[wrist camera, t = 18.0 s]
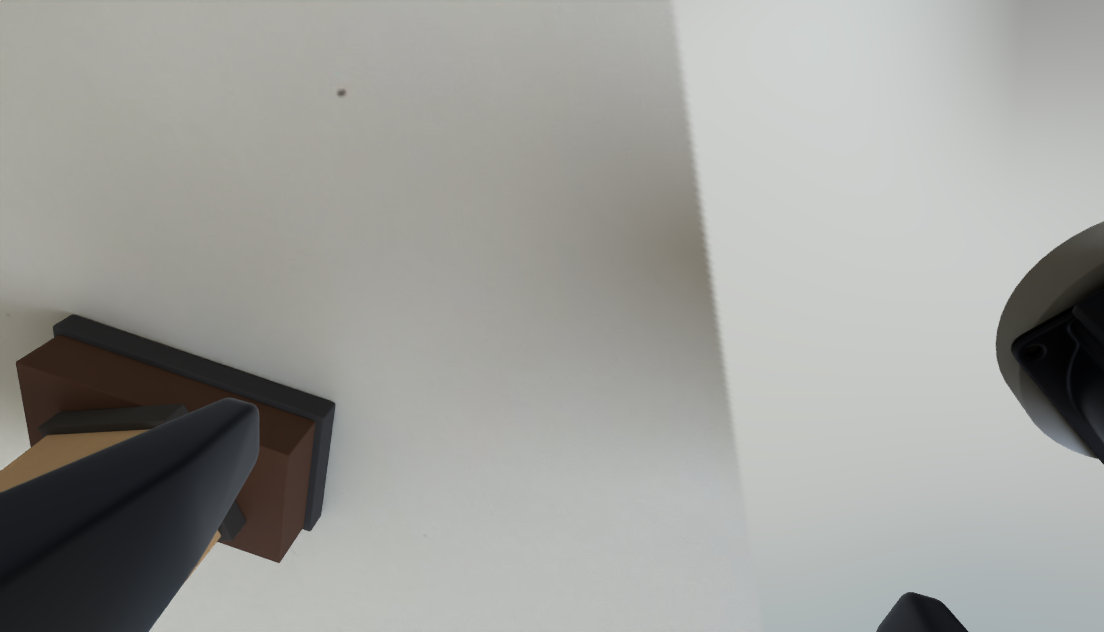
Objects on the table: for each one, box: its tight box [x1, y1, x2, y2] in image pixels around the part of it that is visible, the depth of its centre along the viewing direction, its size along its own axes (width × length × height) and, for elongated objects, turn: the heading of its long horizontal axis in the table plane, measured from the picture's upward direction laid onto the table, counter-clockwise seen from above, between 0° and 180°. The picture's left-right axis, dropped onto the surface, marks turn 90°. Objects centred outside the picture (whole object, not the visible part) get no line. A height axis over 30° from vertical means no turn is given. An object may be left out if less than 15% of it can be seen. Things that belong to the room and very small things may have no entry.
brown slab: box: [16, 315, 335, 563], centre depth 27 cm, size 11×6×3 cm, turn 75°
